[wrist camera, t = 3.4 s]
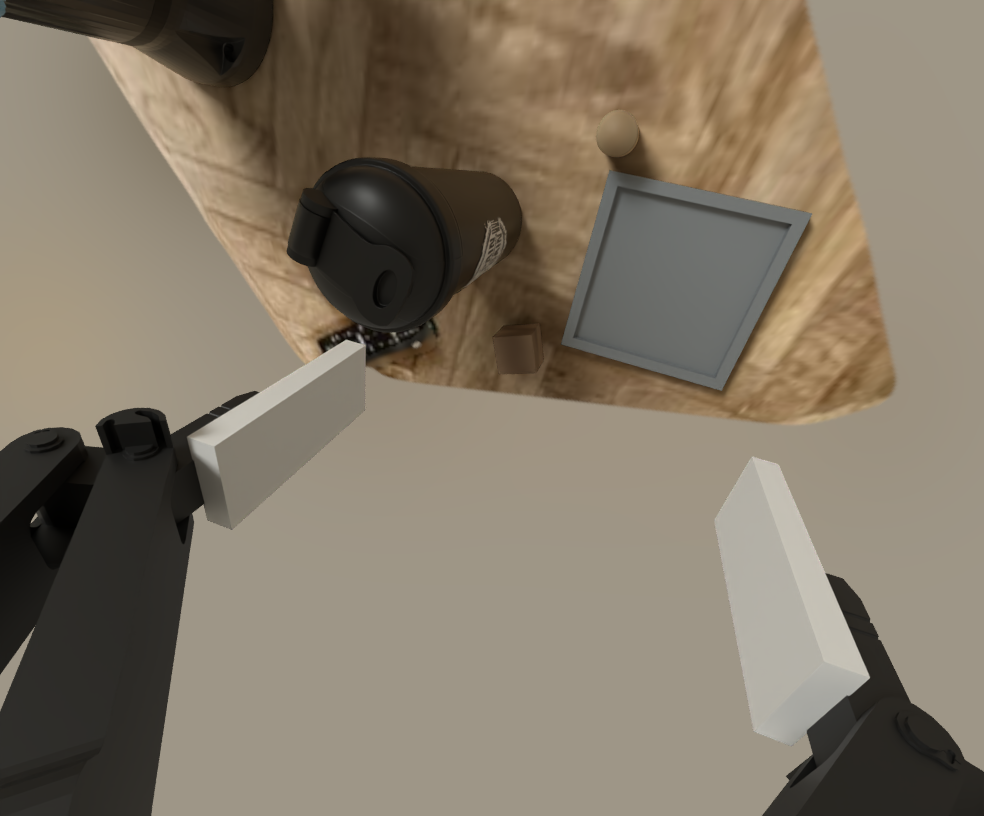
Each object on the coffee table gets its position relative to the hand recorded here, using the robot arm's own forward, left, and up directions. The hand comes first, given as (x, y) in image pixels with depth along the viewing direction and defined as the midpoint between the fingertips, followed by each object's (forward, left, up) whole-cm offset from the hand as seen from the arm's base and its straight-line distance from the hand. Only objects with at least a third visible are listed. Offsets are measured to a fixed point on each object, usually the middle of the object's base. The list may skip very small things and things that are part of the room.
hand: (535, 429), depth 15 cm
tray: (+6, -1, -32) cm, 32 cm away
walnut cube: (-6, -10, -32) cm, 34 cm away
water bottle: (-13, +1, -32) cm, 35 cm away
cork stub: (-2, +10, -32) cm, 33 cm away
